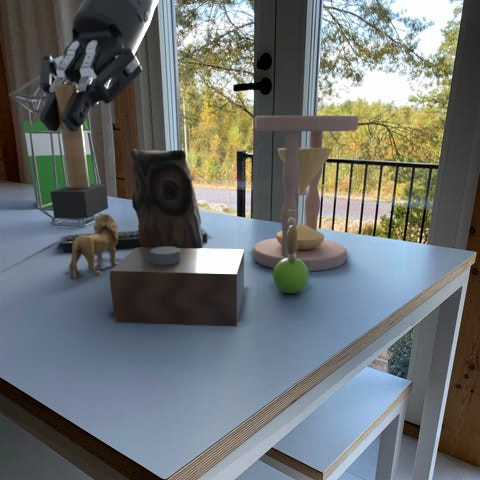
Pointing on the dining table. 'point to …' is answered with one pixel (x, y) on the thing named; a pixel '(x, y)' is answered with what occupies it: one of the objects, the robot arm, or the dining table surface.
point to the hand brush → (75, 171)
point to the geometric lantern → (35, 110)
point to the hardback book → (51, 159)
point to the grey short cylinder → (165, 255)
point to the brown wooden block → (179, 288)
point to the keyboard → (123, 240)
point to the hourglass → (303, 190)
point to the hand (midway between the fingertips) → (58, 125)
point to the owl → (165, 200)
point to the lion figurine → (95, 245)
